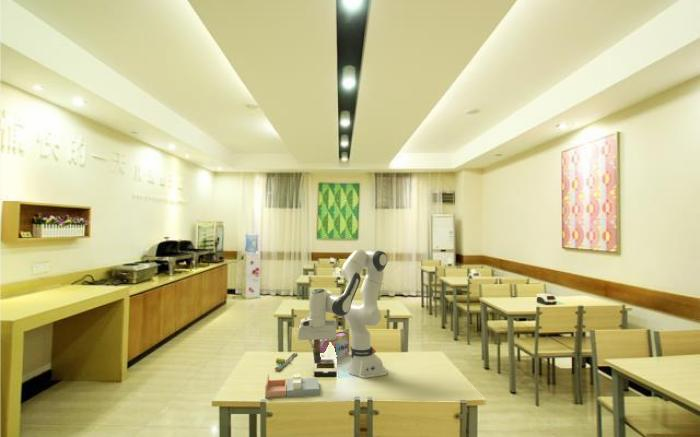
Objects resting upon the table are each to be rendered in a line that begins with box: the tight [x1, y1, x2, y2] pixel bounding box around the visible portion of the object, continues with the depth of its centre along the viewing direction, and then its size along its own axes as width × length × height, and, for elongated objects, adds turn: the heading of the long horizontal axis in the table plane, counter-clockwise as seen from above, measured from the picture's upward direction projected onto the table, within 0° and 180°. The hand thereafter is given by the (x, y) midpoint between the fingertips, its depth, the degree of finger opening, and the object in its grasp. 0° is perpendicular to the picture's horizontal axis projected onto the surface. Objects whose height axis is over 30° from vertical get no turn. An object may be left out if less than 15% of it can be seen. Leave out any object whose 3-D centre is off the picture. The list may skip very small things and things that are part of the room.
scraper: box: [312, 339, 322, 365], centre depth 178 cm, size 3×18×8 cm, turn 9°
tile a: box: [292, 373, 302, 380], centre depth 179 cm, size 4×4×3 cm
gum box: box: [320, 331, 350, 359], centre depth 222 cm, size 24×8×14 cm, turn 134°
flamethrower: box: [274, 352, 298, 371], centre depth 212 cm, size 29×3×10 cm
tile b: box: [293, 379, 301, 389], centre depth 172 cm, size 4×4×3 cm
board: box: [286, 377, 320, 398], centre depth 176 cm, size 16×13×3 cm
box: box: [264, 374, 287, 399], centre depth 174 cm, size 10×13×6 cm
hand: (316, 347), depth 178 cm, fingers closed on scraper, 3 cm apart
